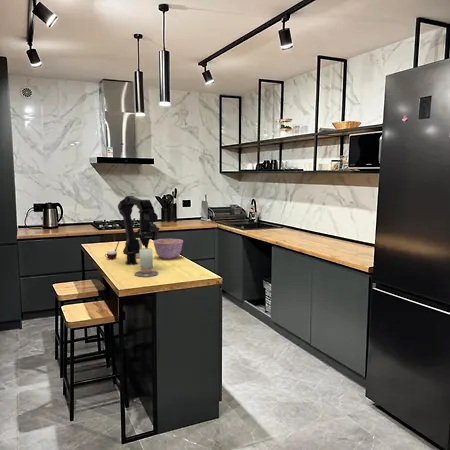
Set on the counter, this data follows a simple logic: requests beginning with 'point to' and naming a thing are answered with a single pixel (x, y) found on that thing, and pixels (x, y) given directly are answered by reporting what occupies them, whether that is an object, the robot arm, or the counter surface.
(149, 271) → the cup on gray saucer
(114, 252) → the cocoa
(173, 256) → the bowl of food
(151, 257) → the white cylinder
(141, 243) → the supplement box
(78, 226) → the counter surface
